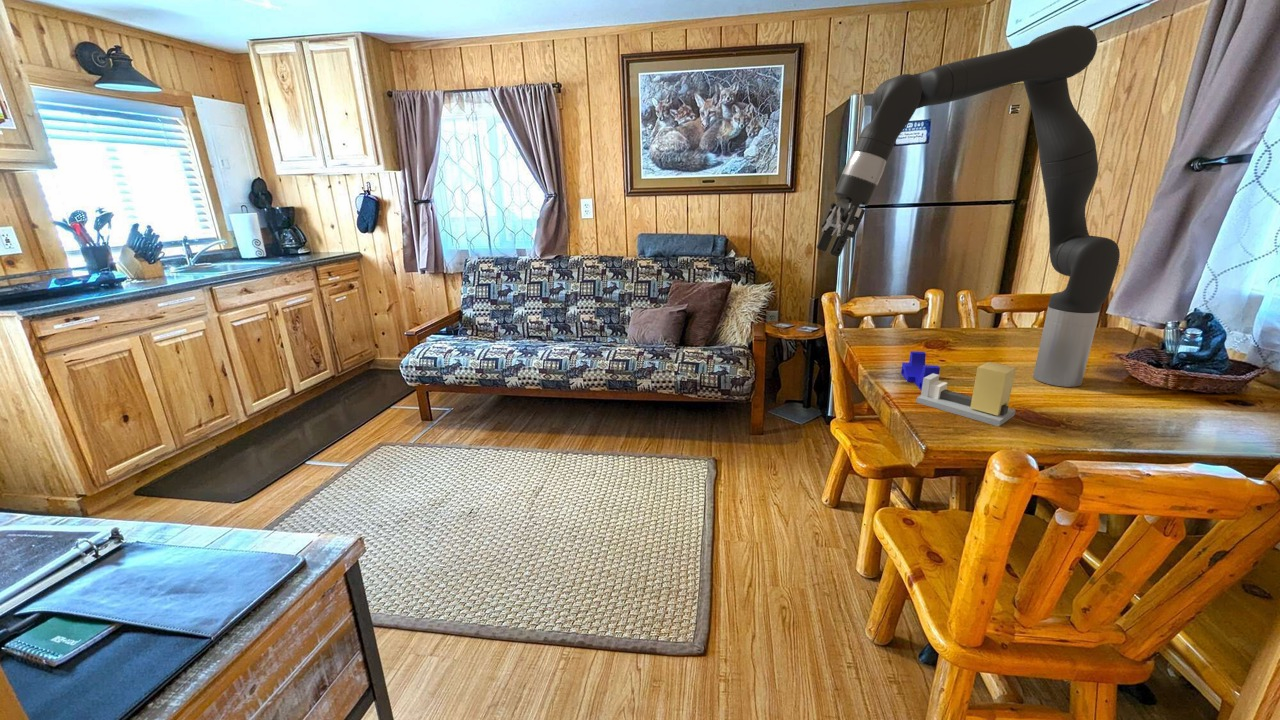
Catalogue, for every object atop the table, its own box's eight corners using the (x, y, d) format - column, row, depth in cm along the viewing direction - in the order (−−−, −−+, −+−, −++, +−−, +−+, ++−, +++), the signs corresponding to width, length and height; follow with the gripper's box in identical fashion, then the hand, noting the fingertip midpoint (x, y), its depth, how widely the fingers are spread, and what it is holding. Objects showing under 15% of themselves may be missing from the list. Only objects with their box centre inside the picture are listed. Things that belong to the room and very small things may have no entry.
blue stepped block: (900, 374, 135) (904, 350, 133) (920, 374, 134) (923, 351, 132) (914, 391, 123) (918, 367, 121) (935, 392, 123) (940, 367, 121)
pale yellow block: (980, 401, 113) (988, 361, 110) (1007, 409, 109) (1016, 367, 106) (970, 408, 110) (977, 367, 107) (997, 415, 106) (1006, 373, 104)
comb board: (933, 393, 122) (936, 371, 120) (1014, 415, 110) (1019, 391, 108) (916, 402, 117) (919, 379, 115) (998, 426, 105) (1003, 401, 103)
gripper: (891, 185, 107) (855, 263, 112) (862, 183, 121) (831, 253, 126) (856, 172, 106) (821, 251, 111) (832, 172, 120) (801, 243, 125)
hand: (827, 252), depth 118 cm, fingers open, 8 cm apart
